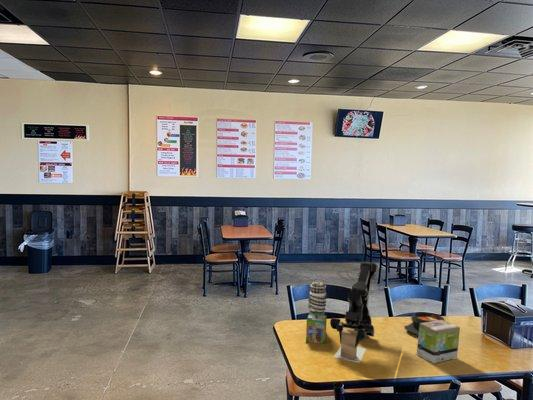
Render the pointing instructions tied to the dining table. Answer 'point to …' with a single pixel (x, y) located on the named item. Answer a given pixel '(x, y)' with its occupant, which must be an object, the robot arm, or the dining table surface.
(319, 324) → the chalk box
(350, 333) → the block
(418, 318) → the casserole
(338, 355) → the board
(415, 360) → the dining table surface
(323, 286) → the leaning tower model
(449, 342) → the tea box
